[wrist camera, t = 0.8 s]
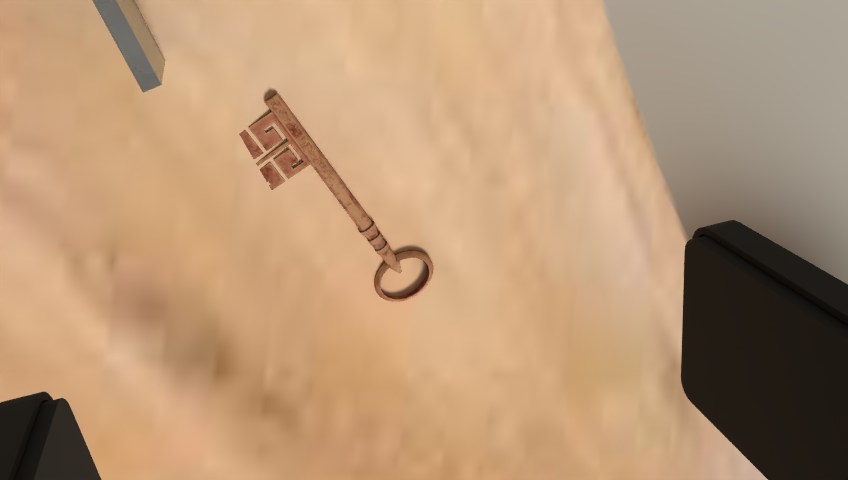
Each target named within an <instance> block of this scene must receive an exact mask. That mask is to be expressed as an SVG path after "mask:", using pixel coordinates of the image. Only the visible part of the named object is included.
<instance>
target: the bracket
mask: <svg viewBox="0 0 848 480" xmlns="http://www.w3.org/2000/svg"><path fill="white" fill-rule="evenodd" d="M93 2H94V4H95V6H96V8H97V9H98V11H99V13H100V15H101V17H102V19H103V20H104V22H105V24H106V26H107V28H108V29H109V31H110V33H111V35H112V37H113V39H114V40H115V42H116V44H117V46H118V48H119V50H120V51H121V53H122V55H123V57H124V59H125V60H126V62H127V64H128V66H129V68H130V70H131V71H132V73H133V75H134V77H135V79H136V80H137V82H138V84H139V86H140V88H141V90H142V91H143V92H146V91H148V90H150V89H153V88H155V87H157V86H160V85H161V84H162V78H163V71H164V65H165V59H164V57H163V55H162V53H161V51H160V49H159V47H158V46H157V44H156V42H155V40H154V38H153V36H152V34H151V32H150V30H149V28H148V26H147V24H146V23H145V21H144V19H143V17H142V15H141V13H140V11H139V9H138V7H137V5H136V3H135V2H134V0H93Z"/></svg>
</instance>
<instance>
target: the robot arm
mask: <svg viewBox="0 0 848 480" xmlns="http://www.w3.org/2000/svg"><path fill="white" fill-rule="evenodd" d="M681 382H682V386H683V389H684V392H685V394H686V396H687V397H688V399H689V400H690V401H691V402H692V404H693V405H694V406H695V407H696V408H697V409H698V410H699V411H700V412H701V413H702V414H703V415H704V416H705V417H706V418H707V419H708V420H709V421H710V422H711V423H712V424H713V425H714V426H715V427H716V428H717V429H718V430H719V431H720V432H721V433H722V434H723V435H724V436H725V437H726V438H727V439H728V440H729V441H730V442H731V443H732V444H733V445H734V446H735V447H736V448H737V449H738V450H739V451H740V452H741V453H742V454H743V455H744V456H745V457H746V458H747V459H748V460H749V461H750V462H751V463H752V464H753V465H754V466H755V467H756V468H757V469H758V470H759V471H760V472H761V473H762V474H763V475H764V476H765V477H766V478H767V479H768V480H848V284H846V283H844V282H842V281H841V280H839V279H837V278H835V277H833V276H832V275H830V274H828V273H827V272H825V271H823V270H821V269H820V268H818V267H816V266H814V265H813V264H811V263H809V262H808V261H806V260H804V259H802V258H801V257H799V256H797V255H795V254H793V253H792V252H790V251H788V250H787V249H785V248H783V247H781V246H780V245H778V244H776V243H774V242H773V241H771V240H769V239H768V238H766V237H764V236H762V235H761V234H759V233H757V232H755V231H753V230H752V229H750V228H748V227H747V226H745V225H743V224H741V223H740V222H737V221H735V220H731V221H726V222H722V223H718V224H714V225H710V226H706V227H702V228H699V229H697V230H696V231H695V233H694V235H693V238H692V239H691V240H689V241H688V242H687V244H686V246H685V261H684V295H683V329H682V363H681ZM0 480H101V478H100V476H99V473H98V471H97V469H96V466H95V464H94V462H93V459H92V457H91V455H90V452H89V450H88V447H87V445H86V443H85V440H84V438H83V436H82V433H81V431H80V429H79V426H78V424H77V422H76V419H75V417H74V415H73V412H72V410H71V408H70V406H69V404H68V402H67V401H66V400H65V399H64V398H60V399H56V400H53V399H52V397H51V396H50V395H49V394H48V393H46V392H40V393H36V394H32V395H28V396H24V397H20V398H16V399H12V400H8V401H4V402H1V403H0Z"/></svg>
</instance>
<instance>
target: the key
mask: <svg viewBox="0 0 848 480" xmlns="http://www.w3.org/2000/svg"><path fill="white" fill-rule="evenodd" d="M265 103H266V105H267V106H268V107H269V109H270V110H271V112H270V113H268V114H267V115H266V116H264V117H263V118H261V119H260V120H259V121H257V122H256V123H254V124H253V125H252V126H250V127H249V129H250V130H251V131H252V132H253V134H254V135H255V136H256V138H257V139H258V140H259V142H260V143H261V144H262V145H263V147H264V148H265V149H266V151H267V150H269V149H270V148H272V147H273V146H274V145H276V144H277V143H279V142H280V141H282V138H281V137H280V136H279V135H278V133H277V132H276V131H275V129H274V128H272V129H271V130H269V131H268V132H267V133H266V132H265V131H264V129H265V128H267V127H268V126H270V125H271V124H272V123H274V122H275V123H276V125H277V126H278V127H279V129H280V130H281V131H282V133H283V134H284V135H285V137H286V138H287V139H288V141H286V142H285V143H284V144H282V145H281V146H279V147H278V148H277V149H275V150H274V151H272V152H271V153H270V154H268V155H267V156H265V157H264V158H263V159H261V160H260V161H258V162H257V163H256V164H257V166H258V165H260V164H261V163H263V162H264V161H266V160H267V159H268V158H270V157H271V156H273V155H274V154H276V153H277V152H279V151H280V150H282V149H283V148H285V147H286V146H288V145H289V144H291V145H292V146H293V148H294V149H295V151H296V152H297V153H298V155H299V156H300V157H301V159H302V160H303V162H301V163H300V164H299V165H297V166H296V167H294V168H293V167H292V166H291V165H293V164H294V163H296V162H297V161H298V160H297V158H296V157H295V156H294V154H293V153H292V152H291V150H290V149H288V150H286V151H285V152H284V153H282V154H281V155H279V156H278V157H277V158H275V159H274V161H275V162H276V163H277V165H278V166H279V167H280V169H281V170H282V171H283V173H284V174H285V175H286V176H287V178H288V179H289V178H291V177H292V176H294V175H295V174H297V173H298V172H300V171H301V170H302V169H304V168H305V167H307V166H308V165H310V164H311V165H312V166H313V167H314V169H315V170H316V171H317V173H318V174H319V176H320V177H321V178H322V180H323V181H324V182H325V184H326V185H327V186H328V188H329V189H330V190H331V192H332V193H333V194H334V196H335V197H336V198H337V200H338V201H339V202H340V204H341V205H342V206H343V208H344V209H345V210H346V212H347V213H348V214H349V216H350V217H351V218H352V220H353V221H354V222H355V224H356V225H357V226H358V228H359V229H360V230H361V231H359V232H360V233H361V234H362V235H363V236H365V237H367V238H368V241H369V243H370V244H371V245H373V246H374V247H375V251H376V252H377V253H378V254H379V255H381V257H382V258H383V259H384V261H385V263H384V264H383V265H382V266H381V267H380V269H379V270H378V272H377V274H376V277H375V281H374V286H375V290H376V292H377V294H378V295H379V296H380V297H381V298H383V299H385V300H388V301H394V302H398V301H404V300H407V299H410V298H412V297H414V296H416V295H417V294H419V293H420V292H421V291H422V290H423V289H424V288H425V287H426V286H427V285H428V283H429V282H430V280H431V278H432V274H433V263H432V261H431V259H430V258H429V257H428V256H427V255H426V254H424V253H422V252H418V251H406V252H402V253H399V254H397V255H395V254H394V253H393V252H392V250H391V249H390V248H389V247H390V246H389V244H388V243H387V242H385V241H384V239H383V236H382V235H381V233H380V232H378V231H377V227H376V225H375V223H374V221H373V222H372V221H371V220H370V219H369V217H368V216H367V214H366V213H365V212H364V210H363V209H362V208H361V206H360V205H359V204H358V202H357V201H356V199H355V198H354V197H353V195H352V194H351V193H350V191H349V190H348V189H347V187H346V186H345V184H344V183H343V182H342V180H341V179H340V178H339V176H338V175H337V173H336V172H335V171H334V169H333V168H332V167H331V165H330V164H329V163H328V161H327V160H326V158H325V157H324V156H323V154H322V153H321V152H320V150H319V149H318V148H317V146H316V145H315V143H314V142H313V141H312V139H311V138H310V137H309V135H308V134H307V133H306V131H305V130H304V128H303V127H302V126H301V124H300V123H299V122H298V120H297V119H296V118H295V116H294V115H293V113H292V112H291V111H290V109H289V108H288V107H287V105H286V104H285V102H284V101H283V100H282V98H281V97H280V96H279V94H278V93H277V94H275V95H274V96H272V97H271V98H270V99H268V100H267V101H265ZM240 136H241V138H242V140H243V141H244V143H245V145H246V146H247V148H248V150H249V152H250V153H251V155H252V157H253V159H255V158H257V157H258V156H260V155H261V154H263V152H262V151H261V150H260V148H259V147H258V146H257V144H256V143H255V142H254V141H253V139H252V138H251V137H250V135H249V134H248V133H247V132H246V130H244V131H243V132H242V133H240ZM260 171H261V172H262V174H263V176H264V178H265V179H266V181H267V182H268V181H269V183H270V184H271V185H269V186H270V188H271V190H273V189H274V188H276V187H277V186H279V185H280V184H282V183H283V182H285V180H284V179H283V178H282V176H281V175H280V174H279V173H278V171H277V170H276V169H275V167H274V166H273V165H272V164H271V162H270V163H268V164H267V165H265V166H264V167H263V168H261V169H260ZM406 258H419V259H421V260H423V261H424V262H425V263H426V264H427V268H428V269H427V275H426V277H425V279H424V281H423V282H422V284H421V285H420V286H419V287H418V288H417V289H416V290H414V291H413V292H411V293H409V294H408V295H405V296H401V297H389V296H387V295H385V294H383V292H382V291H381V287H380V282H381V278H382V276H383V274H384V273H385V271H386V270H387V269H388V268H389V267H390V268H391V269H393V270H394V271H396V272H398V273H401V272H402V271H401V267H400V262H399V261H400V260H402V259H406Z"/></svg>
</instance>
